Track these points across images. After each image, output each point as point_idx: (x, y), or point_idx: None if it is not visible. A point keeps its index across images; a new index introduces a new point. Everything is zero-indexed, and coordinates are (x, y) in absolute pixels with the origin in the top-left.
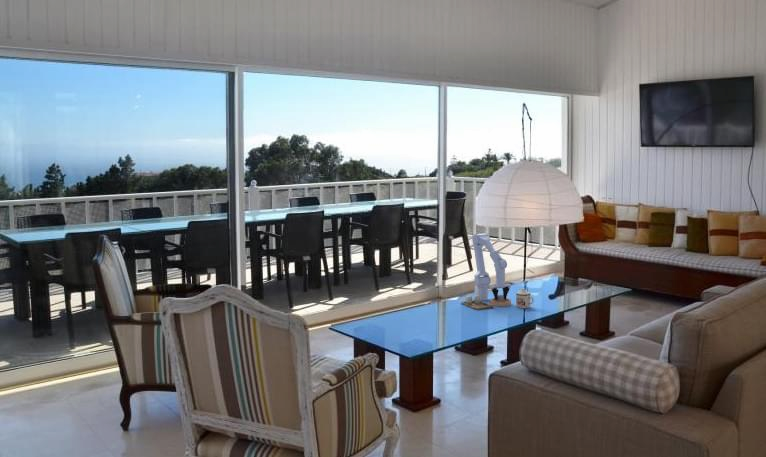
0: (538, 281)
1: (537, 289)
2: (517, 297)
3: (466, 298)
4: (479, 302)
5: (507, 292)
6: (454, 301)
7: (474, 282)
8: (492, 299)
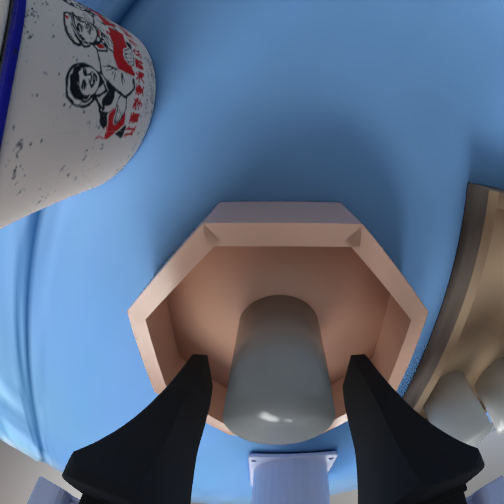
0: (17, 445)
1: (4, 413)
2: (64, 53)
3: None
4: (455, 384)
5: (138, 426)
6: None
7: None
8: None
